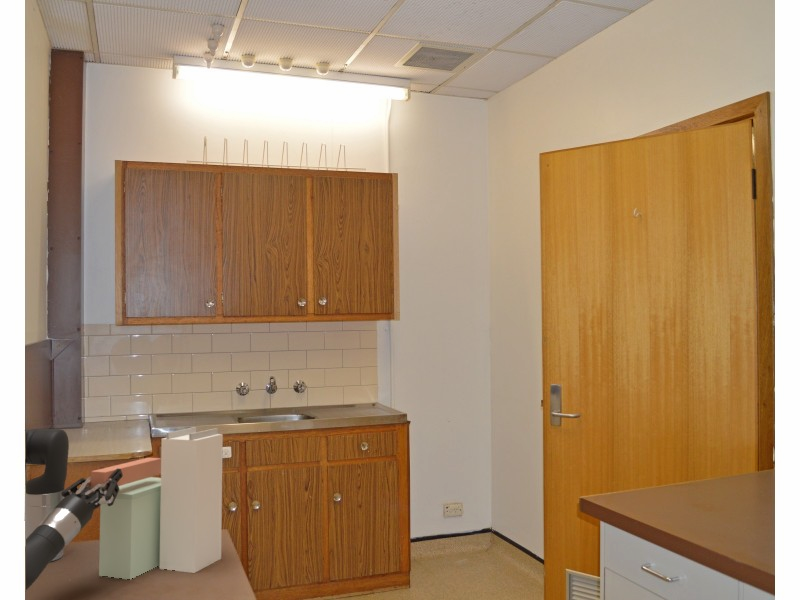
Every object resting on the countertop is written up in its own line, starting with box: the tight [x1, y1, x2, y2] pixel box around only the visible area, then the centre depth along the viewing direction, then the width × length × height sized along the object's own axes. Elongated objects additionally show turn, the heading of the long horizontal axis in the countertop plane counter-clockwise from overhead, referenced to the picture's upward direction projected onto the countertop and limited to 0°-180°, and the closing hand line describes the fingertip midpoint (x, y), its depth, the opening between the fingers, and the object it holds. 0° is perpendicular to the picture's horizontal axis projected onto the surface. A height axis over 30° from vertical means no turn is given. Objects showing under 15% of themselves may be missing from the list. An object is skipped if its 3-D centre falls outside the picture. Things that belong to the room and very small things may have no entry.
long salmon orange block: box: [90, 457, 161, 490], centre depth 178 cm, size 4×21×4 cm, turn 162°
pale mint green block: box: [98, 476, 161, 581], centre depth 183 cm, size 10×20×20 cm, turn 162°
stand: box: [158, 426, 224, 574], centre depth 185 cm, size 10×12×34 cm
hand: (112, 471), depth 173 cm, fingers closed on long salmon orange block, 4 cm apart
